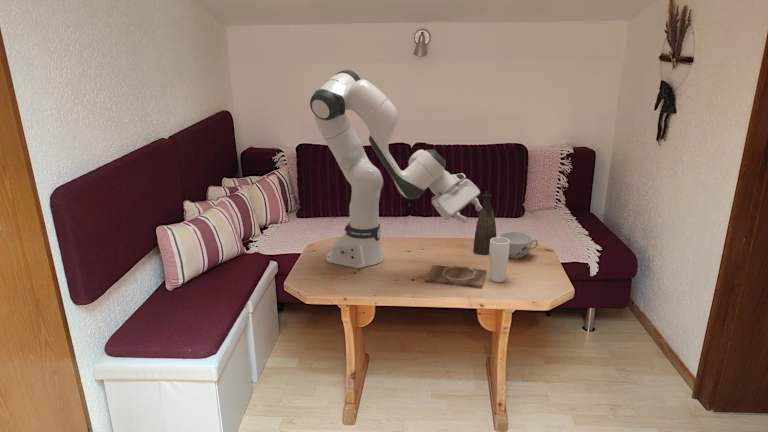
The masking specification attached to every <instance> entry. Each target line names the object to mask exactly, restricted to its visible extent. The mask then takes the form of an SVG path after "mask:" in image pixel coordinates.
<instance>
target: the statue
mask: <svg viewBox="0 0 768 432" xmlns="http://www.w3.org/2000/svg"><path fill="white" fill-rule="evenodd" d="M480 197H481V200H482V201H483V202H482V205H483V206H482V207H483V208H482V210H480V211H479V215H478V218H477V221H476V222H477V223H476V227H475V232H474V238H473V239H474V240H473V254H475V255H490V253H489V248H490V239H491V238H494V237H498V236H497V225H496V217H495V213H494V209H493V207H492V204H491V201H490V200H491V199H492V195H491V194H488V191H487V190H485V192H484V194H482V195H480Z"/></svg>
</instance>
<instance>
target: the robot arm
mask: <svg viewBox="0 0 768 432" xmlns="http://www.w3.org/2000/svg"><path fill="white" fill-rule="evenodd" d="M309 107H310V110H311V112H312V114H313V117H314V120H315V123H316V126H317V128H318V130H319V132H320V134H321V135H322V138H323V140H324V141H325V143H326V145H327V146H328V148H329V150H330V151H331V153H332V155H333V156H334V158H335V160H336V162H337V164H338V167H339V168H340V170H341V171H342V174H343V176H344V177H345V180H346V181H347V182H348V183H349V184H350V186H351V197H350V202H349V205H348V207H349V221H348V222H347V225H345V227H344V228H343V231H344V232H345V233H344V234H342V235H341V236H339V237H338V238H337V239H336V240H335V241H334V242H333V244H332V247H331V251H329V252H328V253H327V254H326V256H325V261H326V263H331V264H335V265H340V266H341V265H342V266H345V267H349V268H355V269H361V268H365V267H367V266H368V267H370V266H374V265H376V264H377V265H378V264H380V263H381V262H383V261H384V259H385V257H384V254H383V250H382V246H381V240H380V239H381V224H380V223H379V222H380V217H379V213H380V212H379V210H380V209H379V208H380V207H379V203H380V198H381V191H382V190H381V189H382V188H383V186H384V179H383V176H382V173H381V171H380V169H379V168H377V166H375V165H374V164H373V163H372V162H371V160H370V159H369V157H368V156H367V153H366V152H365V151H366V150H365V149H364V146H363V144H362V140H360V137H359V135H358V134H357V132H356V130H355V128H354V127H353V125H352V123H351V121H350V119H349V118H348V116H347V113H346V111H352V112H354V113H355V114H356V115H357V116H358V117H359V118H360V120H362V121H363V122H364V124H365V125H366V127H367V128H368V129H367V130H368V131H369V137H368V141H369V144H370V146H371V148H372V150H373V151H374V153H375V154H376V156H377V157H378V159H379V161H380V162H381V164H382V165H383V167H384V168H385V169H386V171H387V173H388V175H390V177H391V178H392V180H393V182H394V185H395V186H396V188H397V190H398V192H399V193H400V194H401V195H402V196H403V197H404V198H406V199H407V200H415V199H419V198H420V197H421V195H422V194H423V193H424V192H425V190H426V189H427V188H429V190H430V191H431V192H432V193H433V194H434V196H432V197H431V204H432V206H433V207H434V208H435V210H436V211H437V213H438V214H439V215H440V216H441V218H443V219H444V220H445V221H446V220H447V221H448V220H449V219H451V218H452V217H453V218H454V220H455V219H456V220H458V221H461V222H462V224H466V223H467V222H468V221H469V217H467V216H466V215H462V214H461V213H460V211H461V210H463V209H464V208H465V207H466V206H467V205H469V204H472V205H474V207H475V211H477V212H479V213H480V211H481V210H482V208H483V207H484V206H482V205H481V204H480V201H479V198H478V196H479V195H480V194H481V191H480V189H479V188H478V186H477V185H476V184H474V182H472V181H471V180H470V179H468V178H467V176H466V175H465V173H462V172H461V173H455V174H451V173H450V172H449V171H447V170H445V169H446V164H447V163H446V162H447V161H446V159H445V158H443V157H442V156H441V155H440V153H438V152H437V151H436V149H426V150H424V149H418V150H416V151H414V153H413V154H412V155H411V156H410V157H409V159H408V166H407V167H406V168H405V169H404V170H402V169H400V166H399V165H398V164H397V162H396V160H395V159H394V157H393V156H392V154H391V153H390V151H389V143H390V140H391V138H392V136H393V134H394V131H395V130H396V126H397V125H398V121H399V114H398V109H397V107H395V105H394V103H392V101H391V100H390V99H389V98H388V97H387V96H386V95H385V94H384V93H383V92H382V91H381V90H380V89H379V88H378V87H377V86H376V85H374V84H372V83H371V82H370V81H368V80H367V79H365V78H364V79H361V78H360V76H359V75H358V73H356V72H355V71H353V70H350V69H345V70H340V71H339V72H337V73H336V74H335V75H332V76H331V77H330V78H329V79H327V80H326V81H324V83H323V84H322V85H321V86H320V87H319V88H318V89H317V90H315V92H314V93H313V94H312V96H311V98H310V101H309Z"/></svg>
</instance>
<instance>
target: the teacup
mask: <svg viewBox="0 0 768 432" xmlns="http://www.w3.org/2000/svg"><path fill="white" fill-rule="evenodd" d="M498 237H504V238H507V239H509V241H510V247H509V257H508V258H510V259H517V260H519V259H521V258H523V257H524V256H526V254H527V253H529V251H532V250H534V249H536V248H537V247H538V246H539V245H538V244H539V240H538V239H536V238H534V237H533V236H532V235H530V234H529V233H525V232H521V231H506V232H504V233H501V234H500V235H499V236H498ZM533 243H535V245H534V246H532V245H533Z"/></svg>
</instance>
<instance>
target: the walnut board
mask: <svg viewBox="0 0 768 432" xmlns="http://www.w3.org/2000/svg"><path fill="white" fill-rule="evenodd" d="M486 275H487V269H478V268H470V267H469V266H460V265H453V266H450V265H440V264H439V265H438V264H432V265H431V266H430V269H429V271H428V273H427V274H426V276H425V278H424V283H429V284H437V285H448V286H456V287H464V288H473V289H474V288H475V289H483V286H484V283H485V279H486Z"/></svg>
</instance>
